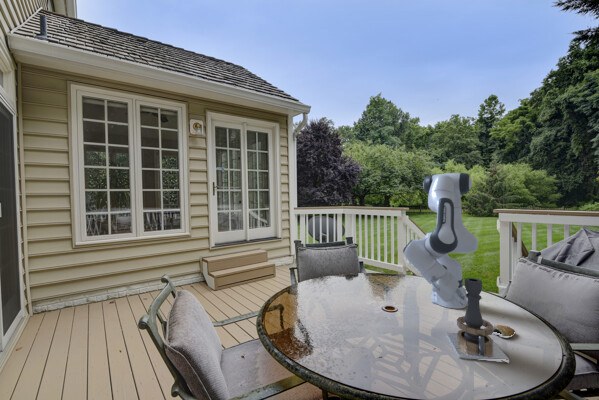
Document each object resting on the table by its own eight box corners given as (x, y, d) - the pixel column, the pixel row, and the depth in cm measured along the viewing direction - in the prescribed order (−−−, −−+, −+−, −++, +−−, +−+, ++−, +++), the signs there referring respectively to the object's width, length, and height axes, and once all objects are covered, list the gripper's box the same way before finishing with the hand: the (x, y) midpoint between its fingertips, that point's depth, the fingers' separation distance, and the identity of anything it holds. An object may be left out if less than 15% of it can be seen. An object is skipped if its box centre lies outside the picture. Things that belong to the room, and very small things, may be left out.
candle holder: (475, 339, 108) (475, 277, 108) (487, 348, 102) (486, 282, 102) (460, 340, 108) (460, 278, 108) (471, 349, 102) (471, 282, 101)
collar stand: (446, 335, 114) (445, 312, 114) (489, 339, 111) (488, 315, 111) (458, 358, 99) (458, 330, 99) (509, 363, 95) (509, 335, 95)
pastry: (503, 329, 120) (503, 320, 120) (520, 336, 113) (520, 327, 113) (488, 333, 116) (488, 324, 116) (505, 341, 110) (505, 331, 110)
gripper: (436, 275, 103) (466, 307, 97) (445, 264, 119) (472, 291, 113) (423, 285, 106) (452, 316, 100) (434, 273, 122) (459, 299, 116)
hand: (462, 302), depth 107 cm, fingers open, 8 cm apart
